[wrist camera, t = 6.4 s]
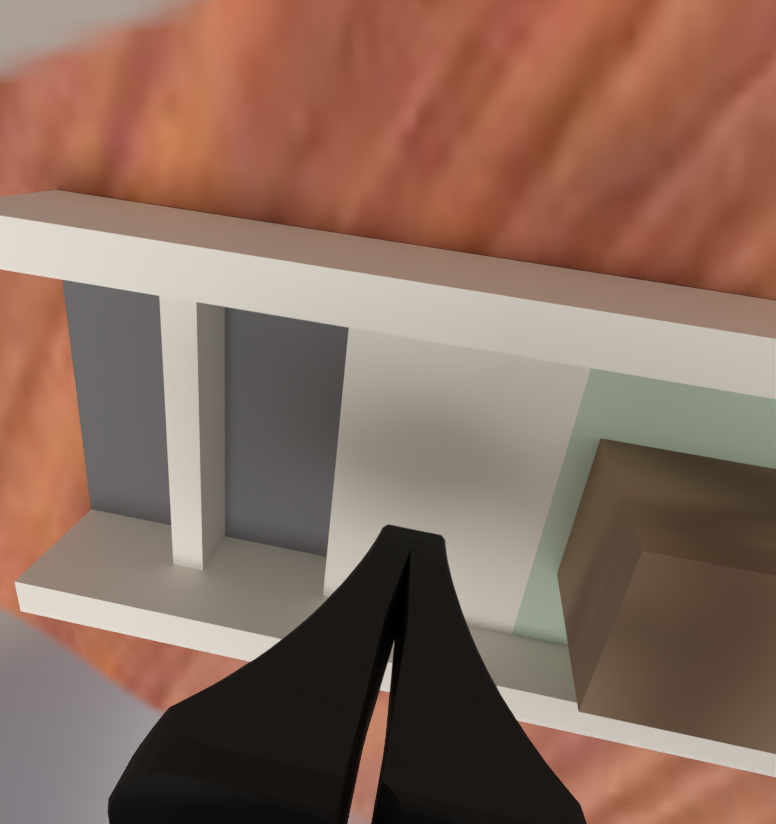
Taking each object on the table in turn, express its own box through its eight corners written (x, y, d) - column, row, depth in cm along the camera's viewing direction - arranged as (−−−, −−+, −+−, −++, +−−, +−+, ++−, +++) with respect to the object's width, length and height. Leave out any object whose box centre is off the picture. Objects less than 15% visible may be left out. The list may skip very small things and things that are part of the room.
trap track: (905, 320, 14) (1042, 381, 11) (724, 660, 20) (776, 777, 16) (56, 189, 16) (-65, 205, 13) (97, 532, 22) (20, 611, 18)
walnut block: (784, 470, 14) (898, 599, 10) (717, 605, 16) (792, 757, 12) (600, 437, 15) (641, 550, 11) (557, 574, 17) (578, 711, 13)
